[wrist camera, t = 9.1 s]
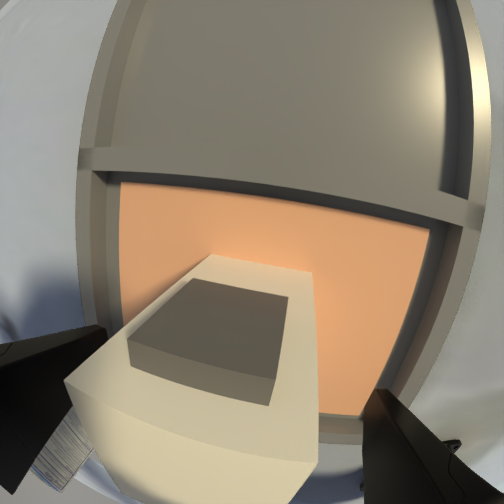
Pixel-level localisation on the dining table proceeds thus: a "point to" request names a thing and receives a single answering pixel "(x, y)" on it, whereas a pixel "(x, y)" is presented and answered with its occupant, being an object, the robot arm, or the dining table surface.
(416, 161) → the dock
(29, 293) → the dining table surface
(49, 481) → the medicine box
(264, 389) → the plug
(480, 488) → the robot arm
